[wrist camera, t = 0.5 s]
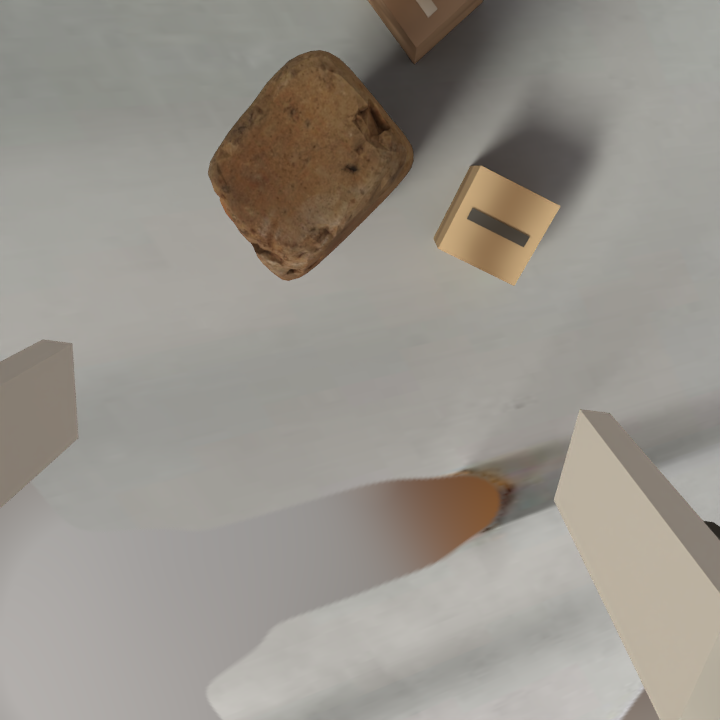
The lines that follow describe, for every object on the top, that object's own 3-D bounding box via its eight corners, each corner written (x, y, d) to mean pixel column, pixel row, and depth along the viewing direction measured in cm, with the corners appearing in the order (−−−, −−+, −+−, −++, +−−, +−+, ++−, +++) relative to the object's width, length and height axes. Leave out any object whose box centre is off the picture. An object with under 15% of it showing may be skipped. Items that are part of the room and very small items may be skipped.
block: (353, 83, 41) (311, 9, 22) (421, 160, 42) (438, 154, 23) (255, 190, 44) (144, 206, 25) (322, 259, 45) (266, 324, 26)
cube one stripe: (433, 238, 44) (438, 248, 38) (470, 165, 42) (481, 165, 36) (499, 271, 44) (514, 286, 39) (539, 201, 42) (560, 206, 37)
